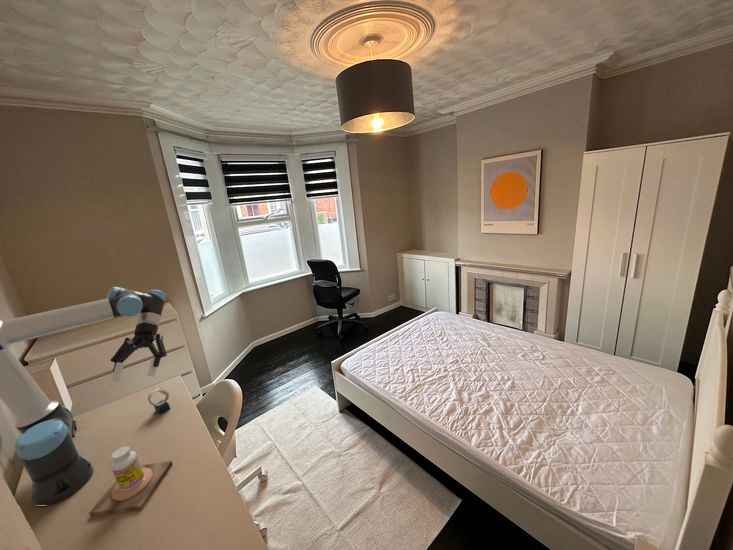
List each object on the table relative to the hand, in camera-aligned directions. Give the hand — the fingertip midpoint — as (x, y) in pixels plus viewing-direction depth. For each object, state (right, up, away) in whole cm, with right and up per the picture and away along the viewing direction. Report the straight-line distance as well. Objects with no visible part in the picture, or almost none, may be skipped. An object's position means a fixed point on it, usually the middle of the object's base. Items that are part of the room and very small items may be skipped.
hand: (133, 378), depth 111 cm
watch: (-7, -25, +27) cm, 38 cm away
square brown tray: (+10, -33, -12) cm, 37 cm away
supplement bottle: (+10, -31, -13) cm, 35 cm away
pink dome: (+10, -32, -13) cm, 35 cm away
